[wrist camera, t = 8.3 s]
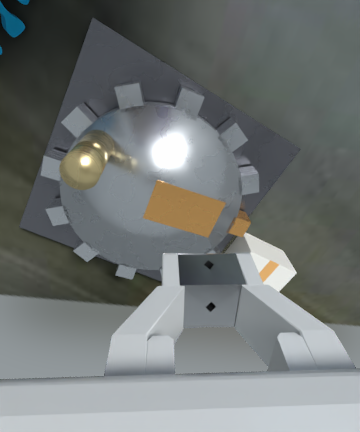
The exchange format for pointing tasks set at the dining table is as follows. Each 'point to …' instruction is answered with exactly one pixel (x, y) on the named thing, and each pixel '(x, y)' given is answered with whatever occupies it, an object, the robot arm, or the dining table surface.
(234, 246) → the link block
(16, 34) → the blue splat toy
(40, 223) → the base plate
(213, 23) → the dining table surface
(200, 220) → the sprocket
